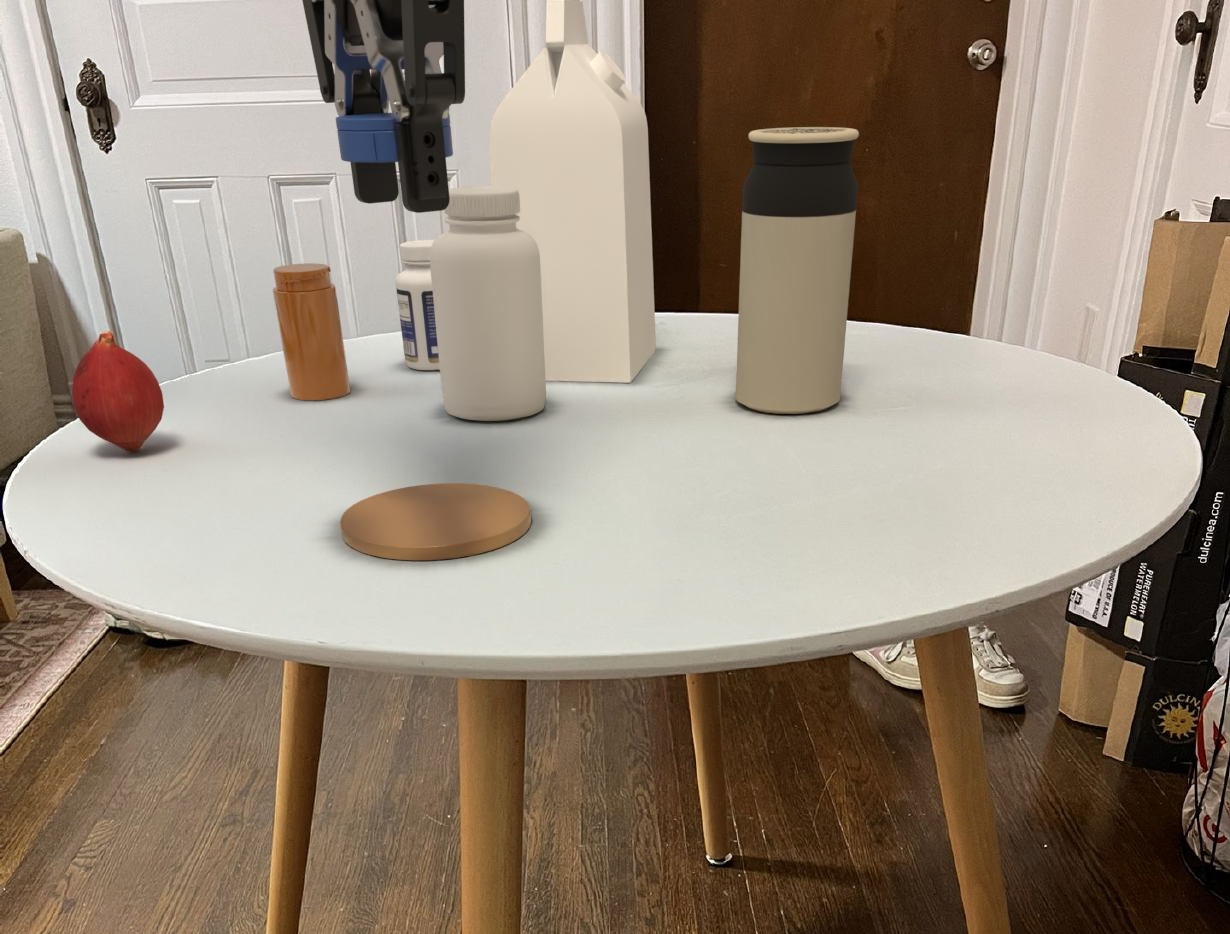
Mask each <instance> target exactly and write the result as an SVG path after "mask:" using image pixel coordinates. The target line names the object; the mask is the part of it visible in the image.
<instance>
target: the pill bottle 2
mask: <svg viewBox="0 0 1230 934" xmlns="http://www.w3.org/2000/svg"><path fill="white" fill-rule="evenodd" d="M449 199H450V200H449V205H448V207H447V208H446V209H445V210H444V213H445V215H447V216H446V217H445V218H444V223H445V224H448V226H449V229H448V230H447V231H444V232H443V233H442V234H440V235H438V236H437V237H436V238H435V239H434V240H435V241H434V242H433V244H432V246H431V251H430V268H431V279H432V290H433V301H434V311H435V322H436V333H437V344H438V354H439V365H440V370H439V374H440V382H441V383H440V386H441V397H442V401H443V406H444V409H445V411H446V413H447V414H448V415H450V416H453V417H456V418H460V419H463V420H470V421H478V422H479V421H480V422H482V421H483V422H492V421H493V422H495V421H496V422H497V421H508V420H516V419H522V418H526V417H530V416H533V415H536V414H537V413H540V412H541V411H543V410H544V408H545V406H546V401H547V381H546V379H545V357H544V335H543V313H542V290H541V268H540V253H539V250H538V246H537V244H536V242H535V240H534V239H533V238H532V237H531V236H530V235H529V234H527V233H526V232H524V231H521V230H519V229H517V228H516V222H518V221H519V220H520V217H519V216H518V215H515V214H518V213H519V212H520V196H519V192H518V190H517V189H515V188H509V187H493V186H491V185H490V186H488V185H487V186H484V185H483V186H481V185H479V186H463V187H460V186H459V187H452V188H449Z"/></svg>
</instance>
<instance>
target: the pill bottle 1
mask: <svg viewBox="0 0 1230 934" xmlns="http://www.w3.org/2000/svg"><path fill="white" fill-rule="evenodd" d="M434 241H435V239H420V240H410V241H404V242H402V243H400V244H399V252H400V253H399V254H400V259H401V263H402V264H404V269H403V270H402V271H401V272H399V273H398V274H397V276H396V277H395V289H396V297H397V305H398V314H399V322H400V329H401V338H402V345H403V346H402V348H403V355H404V361H405V364H406V366H407V367H408V368H410V369H412V370H416V371H440V365H439V354H438V344H437V333H436V322H435V311H434V301H433V290H432V279H431V268H430V251H431V246H432V244H433V242H434Z"/></svg>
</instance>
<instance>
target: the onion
mask: <svg viewBox="0 0 1230 934" xmlns="http://www.w3.org/2000/svg"><path fill="white" fill-rule="evenodd" d="M71 396H72V403H73V408H74V410H75V412H76V415H77V418H78V420H79V421H81V423H82V424H83V425H84V427H86V429H87V430H88V431H89V432H90V433H92V434H94V435H96V437H98V438H99V439H102V440H104V441H105V442H108V443H109V444H112V445H114V446H116V447H118V448H120V449H122V450H124V451H126V452H129V453H133V452H138V451H140V450H141V448H142V447H143V446H144V444H145V443H146V441H147V440H148V439H149V438H150V437H151V435H152V434H153V433H154V432H155V431H156V429H157V427H158V426H159V425H160V423H161V421H162V419H163V415H164V409H165V403H164V402H165V401H164V394H163V390H162V388H161V386H160V383H159V381H158V379H157V377H156V375H155V374H154V372H153V371H152V369H151V368H150V367H149V366H148V365H147V364H146V363H145V362H144V361H143V360H142V359H141V358H139V357H138V356H136V355H135V354H133V353H132V352H130V351H129V350H127V349H125V348H123V347H121V346H119V345H117V343H116V340H115V336H114V334H113V333H112V331H111V330H107V331H106V330H104V331H102V332H100V333H99V335H98V338H97V339H96V340H95V342H94V343H93V344H92V346H91V347H90V348H89V349H88V350H87V351H86V353H84V355H83V356H82V357H81V359H80V361H79V362H78V363H77V366H76V368H75V370H74V374H73V377H72V388H71Z"/></svg>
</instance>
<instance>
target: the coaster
mask: <svg viewBox="0 0 1230 934" xmlns="http://www.w3.org/2000/svg"><path fill="white" fill-rule="evenodd" d="M339 523H340V529H341V536H342V538H343V541H344V542H345V543H346V544H347V545H348V546H349V547H351V548H352V549H354V550H356V551H358V552H360V553H363V554H366V555H369V556H373V557H377V558H383V559H391V560H400V561H438V560H439V561H441V560H448V559H449V560H450V559H458V558H463V557H464V558H465V557H469V556H474V555H478V554H479V555H480V554H483V553H486V552H491V551H493V550H496V549H500V548H502V547H504V546H507V545H509V544H512V543H513V542H514V541H516V540H518V539H520V538H521V537H522V536H524V535H525V534H526V533H527V532H528V530H529V529H530V527H531V524H532V514H531V506H530V504H529V502H528V501H527V500H526V499H525V497H523V496H521V495H519V494H518V493H516V492H514V491H511V490H508V489H505V488H501V487H498V486H497V487H496V486H492V485H484V484H477V483H464V482H463V483H457V482H456V483H455V482H449V483H446V482H445V483H430V484H429V483H428V484H419V485H412V486H406V487H399V488H396V489H395V488H394V489H391V490H387V491H384V492H380V493H377V494H374V495H372V496H368V497H366V498H364V499H362V500H360V501H358V502H356V503H354V504H352V505H351V506H349V507H348V508H347V509H346V510H345V511H344V512H343V513H342V515H341V517H340V521H339Z"/></svg>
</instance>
